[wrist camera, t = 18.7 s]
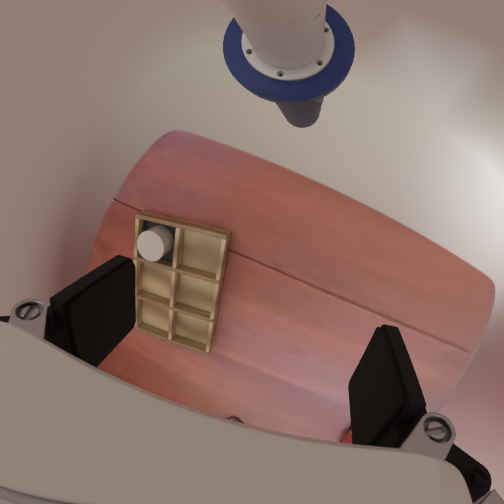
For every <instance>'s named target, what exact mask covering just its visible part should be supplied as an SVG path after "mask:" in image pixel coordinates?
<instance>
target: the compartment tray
mask: <svg viewBox="0 0 504 504" xmlns="http://www.w3.org/2000/svg"><path fill="white" fill-rule="evenodd" d="M156 225H161V226H164V227H166V228H167V229H168V230H169V231H170V232H171V233H172V236H173V239H174V244H173V248H172V249H171V251H170V252H168V253H167V254H166V255H164V256H163V257H162V258H160V259H159V260H157V261H148V260H146V259H145V258H143V257H142V256H141V254H140V253H139V251H138V248H137V240H138V237H139V235H140V234H141V233H142V232H144V231H146V230H148V229H150V228H152V227H154V226H156ZM230 236H231V231H228V230H224V229H220V228H216V227H212V226H207V225H203V224H199V223H195V222H190V221H186V220H182V219H177V218H173V217H169V216H164V215H160V214H156V213H151V212H147V211H142V212H140V213H137V214H136V220H135V239H134V264H135V266H136V323H135V326H134V329H136V330H139V331H141V332H144V333H147V334H149V335H152V336H155V337H157V338H160V339H163V340H166V341H168V342H171V343H174V344H177V345H180V346H183V347H186V348H189V349H192V350H195V351H198V352H201V353H204V354H207V355H209V353H210V351H211V349H212V347H213V341H214V334H215V328H216V321H217V315H218V308H219V302H220V296H221V290H222V283H223V277H224V271H225V265H226V259H227V253H228V247H229V242H230Z"/></svg>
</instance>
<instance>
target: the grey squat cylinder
mask: <svg viewBox="0 0 504 504" xmlns="http://www.w3.org/2000/svg"><path fill="white" fill-rule="evenodd" d="M173 244H174V239H173V236H172V233H171V232H170V231H169V230H168V229H167V228H166V227H164V226H161V225H156V226H154V227H152V228H150V229H148V230H146V231H144V232H142V233H141V234H140V235H139V237H138V240H137V248H138V251H139V253H140V254H141V256H142V257H143V258H145V259H146V260H148V261H157V260H159V259H160V258H162V257H163V256H164V255H166V254H167V253H168V252H170V251H171V249H172V248H173Z"/></svg>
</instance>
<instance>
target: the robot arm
mask: <svg viewBox="0 0 504 504" xmlns="http://www.w3.org/2000/svg"><path fill="white" fill-rule="evenodd" d="M223 1H224V2H225V4H226V5H227V7H228V9H229V10H230V12H231V13H232V15H233V16H234V18H235V20H236V21H237V23H238V24H239V26H240V28H241V29H242V31H243V34H242V41H241V43H242V50H243V53H244V56H245V57H246V59H247V61H248V62H249V63H250V65H251V66H252V67H253V68H254V69H255V70H257V71H258V72H259V73H261V74H263V75H264V76H266V77H269V78H272V79H275V80H280V81H300V80H303V79H307V78H310V77H312V76H314V75H316V74H317V73H319V72H320V71H321V70H323V69H324V68H325V67H326V65H327V64H328V63H329V61H330V59H331V58H332V54H333V51H334V36H333V33H332V30H331V28H330V27H329V25H328V24H327V22H326V21H325V15H326V3H327V0H223ZM324 31H327V32H324ZM250 52H251V53H252V54H249V53H250ZM318 63H320V64H321V66H319V65H318ZM280 74H282V75H283V76H282V77H280V76H279V75H280ZM50 304H51V305H50V306H49V307H47V305H46V304H45V303H44V302H43V301H41V300H38V299H27V300H23V301H21V302H19V303H17V304H16V305H15V306H14V307H13V309H12V311H11V315H10V316H0V504H504V501H503V500H502V498H501V497H500V496H499V494H498V493H497V492H496V490H495V489H494V490H492V491H490V487H491V476H490V473H489V472H488V470H487V469H486V468H485V467H484V466H483V465H482V464H480V463H479V462H478V461H476V460H475V459H473V458H472V457H471V456H469V455H468V454H467V453H465V452H464V451H463V450H461V449H460V448H459V447H457V446H456V445H455V444H453V442H454V440H455V436H456V433H455V428H454V426H453V424H452V423H451V422H450V420H449V419H448V418H446V417H445V416H443V415H441V414H439V413H435V412H431V413H427V411H426V408H425V407H426V402H425V399H424V396H423V393H422V390H421V387H420V384H419V381H418V379H417V376H416V373H415V370H414V367H413V365H412V362H411V359H410V357H409V354H408V351H407V349H406V346H405V344H404V341H403V339H402V336H401V334H400V331H399V329H398V327H394V326H389V325H385V324H384V325H382V326H381V328H380V327H377V328H376V330H375V332H374V334H373V336H372V338H371V340H370V342H369V344H368V346H367V348H366V350H365V352H364V354H363V356H362V358H361V360H360V362H359V364H358V366H357V368H356V370H355V372H354V373H353V375H352V377H351V379H350V382H349V386H348V389H349V402H350V416H351V433H352V444H349V443H341V442H333V441H327V440H320V439H313V438H307V437H302V436H296V435H291V434H286V433H281V432H276V431H272V430H267V429H263V428H259V427H255V426H251V425H247V424H243V423H239V422H236V421H232V420H228V419H225V418H222V417H218V416H215V415H212V414H209V413H205V412H202V411H199V410H196V409H193V408H190V407H187V406H185V405H182V404H179V403H176V402H174V401H171V400H168V399H166V398H163V397H161V396H158V395H156V394H153V393H151V392H148V391H146V390H143V389H141V388H139V387H136V386H134V385H132V384H129V383H127V382H125V381H123V380H121V379H118V378H116V377H114V376H112V375H110V374H108V373H106V372H104V371H102V370H100V369H98V368H97V366H98V365H99V364H100V363H101V362H102V361H103V360H104V359H105V358H106V357H107V356H108V354H109V353H110V352H111V351H112V350H113V349H114V348H115V347H116V346H117V345H118V344H119V343H120V342H121V341H122V339H123V338H124V337H125V336H126V335H127V334H128V333H129V332H130V331H131V330H132V329H133V328H134V326H135V323H136V266H135V264H134V263H133V261H132V259H130V258H127V257H124V256H121V255H117V256H115V257H114V258H112V259H110V260H109V261H107V262H105V263H104V264H102V265H101V266H99V267H97V268H96V269H94V270H93V271H91V272H89V273H88V274H86V275H85V276H83V277H81V278H80V279H78V280H77V281H75V282H74V283H72V284H71V285H69V286H68V287H66V288H65V289H63V290H61V291H60V292H58V293H57V294H55V295H54V296H52V297H51V298H50Z"/></svg>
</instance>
